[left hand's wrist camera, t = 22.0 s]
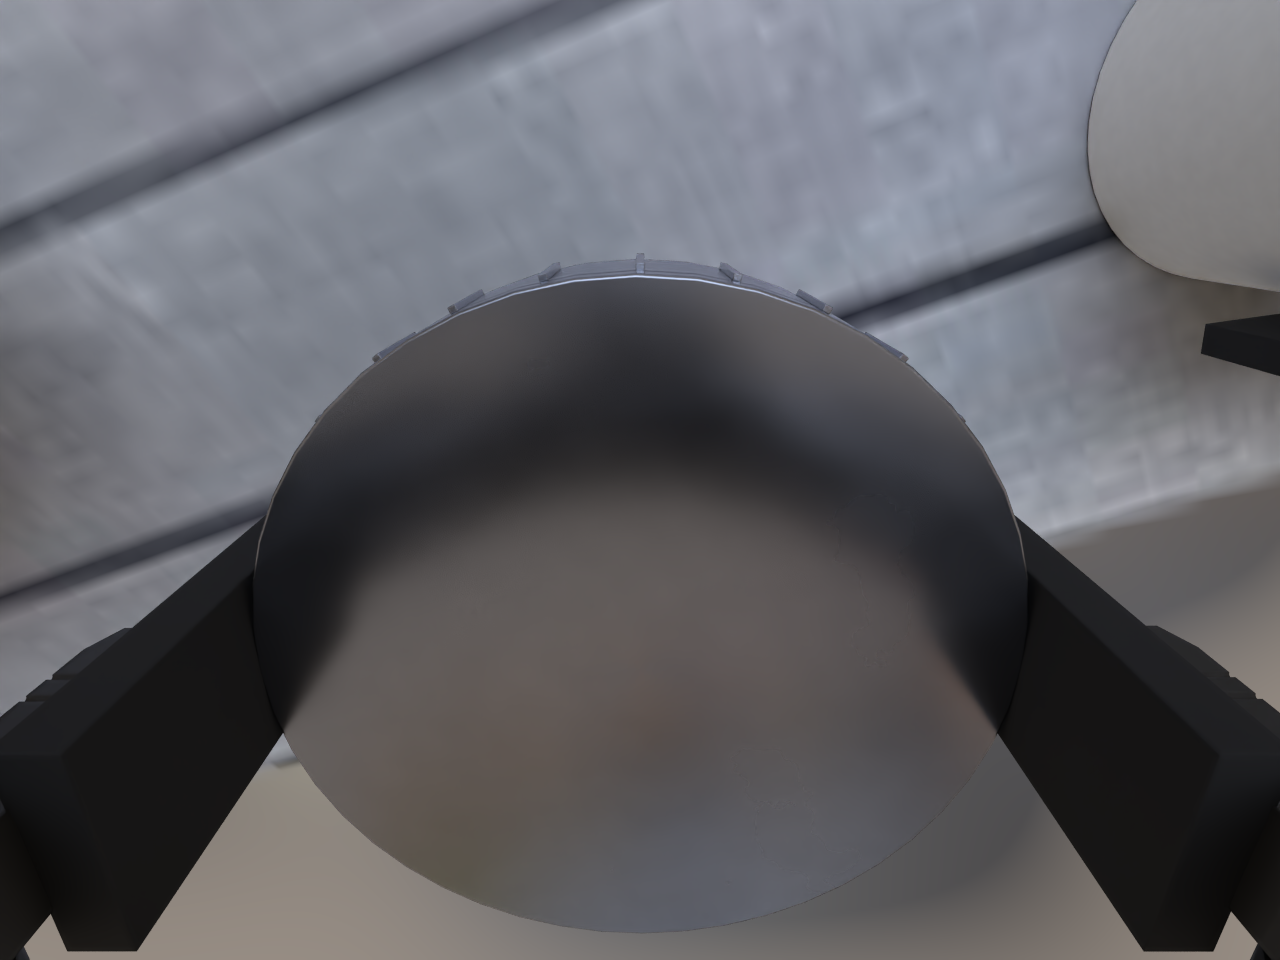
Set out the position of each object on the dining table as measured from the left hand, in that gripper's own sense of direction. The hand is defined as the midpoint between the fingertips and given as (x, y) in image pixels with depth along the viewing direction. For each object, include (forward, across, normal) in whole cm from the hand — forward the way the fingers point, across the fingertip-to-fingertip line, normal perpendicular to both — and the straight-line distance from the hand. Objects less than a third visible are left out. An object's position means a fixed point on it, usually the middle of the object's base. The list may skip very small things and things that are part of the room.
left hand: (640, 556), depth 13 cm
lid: (-3, 0, 0) cm, 3 cm away
